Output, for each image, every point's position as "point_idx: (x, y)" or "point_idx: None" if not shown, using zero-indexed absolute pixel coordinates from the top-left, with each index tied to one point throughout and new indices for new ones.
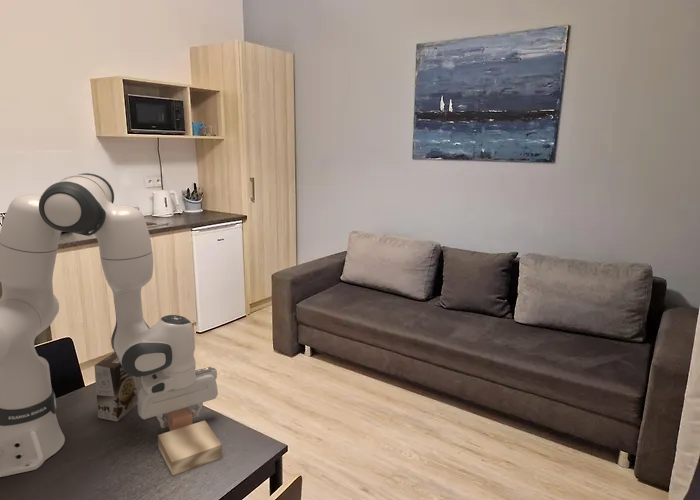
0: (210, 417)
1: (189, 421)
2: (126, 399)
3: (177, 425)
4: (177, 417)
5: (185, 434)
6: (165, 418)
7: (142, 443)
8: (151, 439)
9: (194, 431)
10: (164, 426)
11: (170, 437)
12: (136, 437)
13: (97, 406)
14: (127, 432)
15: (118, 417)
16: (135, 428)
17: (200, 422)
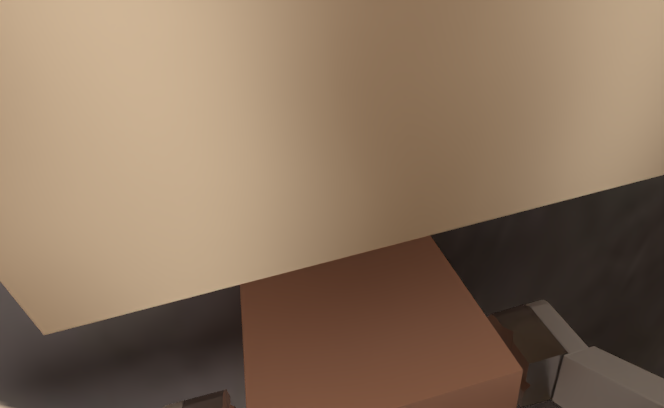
0: (62, 397)
1: (280, 346)
2: None
3: (423, 304)
4: (453, 405)
5: (414, 26)
6: (525, 401)
7: (647, 193)
8: (577, 223)
9: (231, 69)
10: (529, 313)
11: (646, 35)
12: (640, 266)
13: None
14: (650, 320)
15: None
16: (598, 345)
17: (118, 296)
